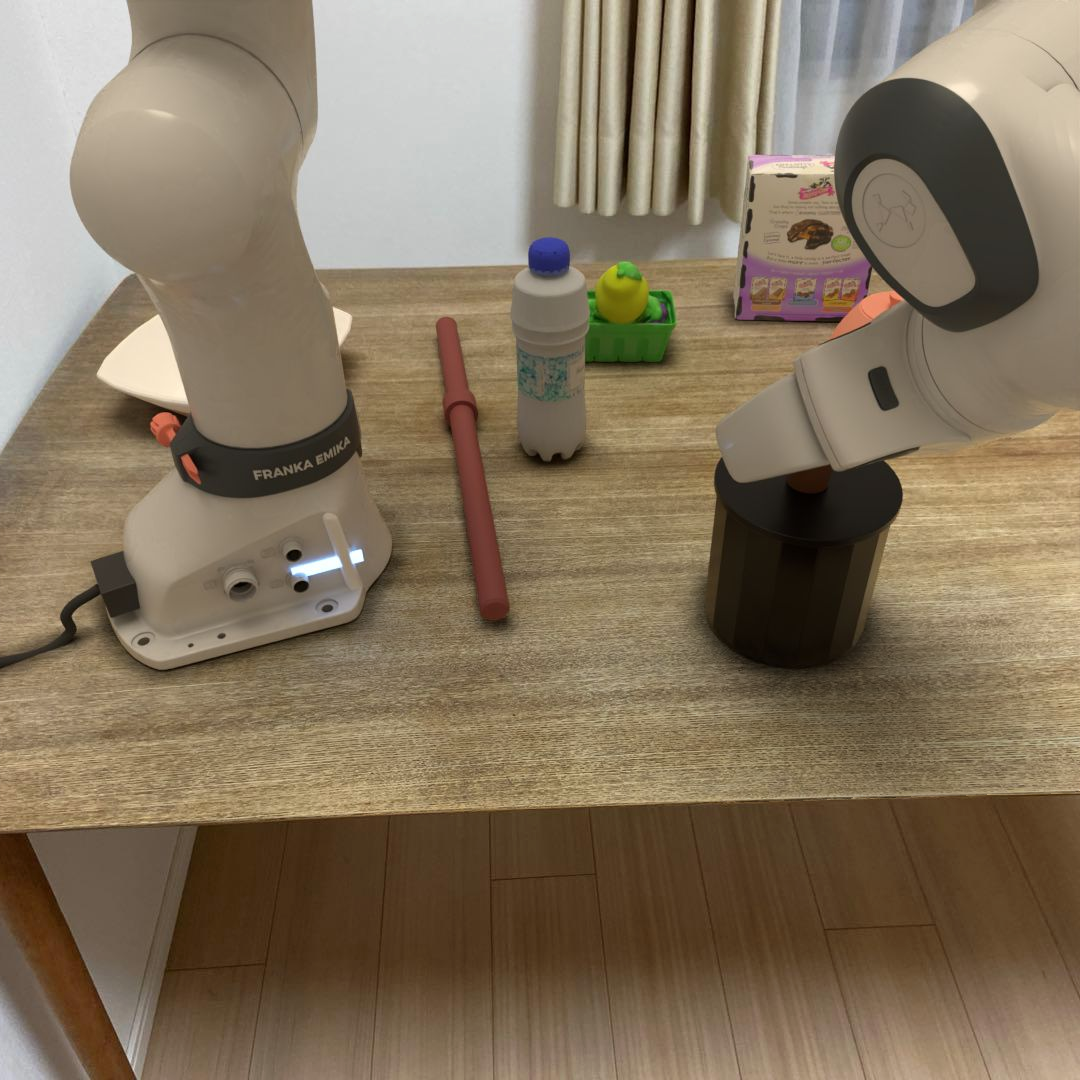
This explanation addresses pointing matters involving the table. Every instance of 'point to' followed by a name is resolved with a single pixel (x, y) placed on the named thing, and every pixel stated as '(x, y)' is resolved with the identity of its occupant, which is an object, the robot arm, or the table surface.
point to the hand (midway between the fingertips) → (808, 431)
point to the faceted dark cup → (788, 595)
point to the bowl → (163, 364)
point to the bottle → (550, 350)
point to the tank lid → (815, 504)
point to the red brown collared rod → (471, 475)
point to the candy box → (796, 244)
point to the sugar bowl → (866, 311)
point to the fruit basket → (628, 318)
